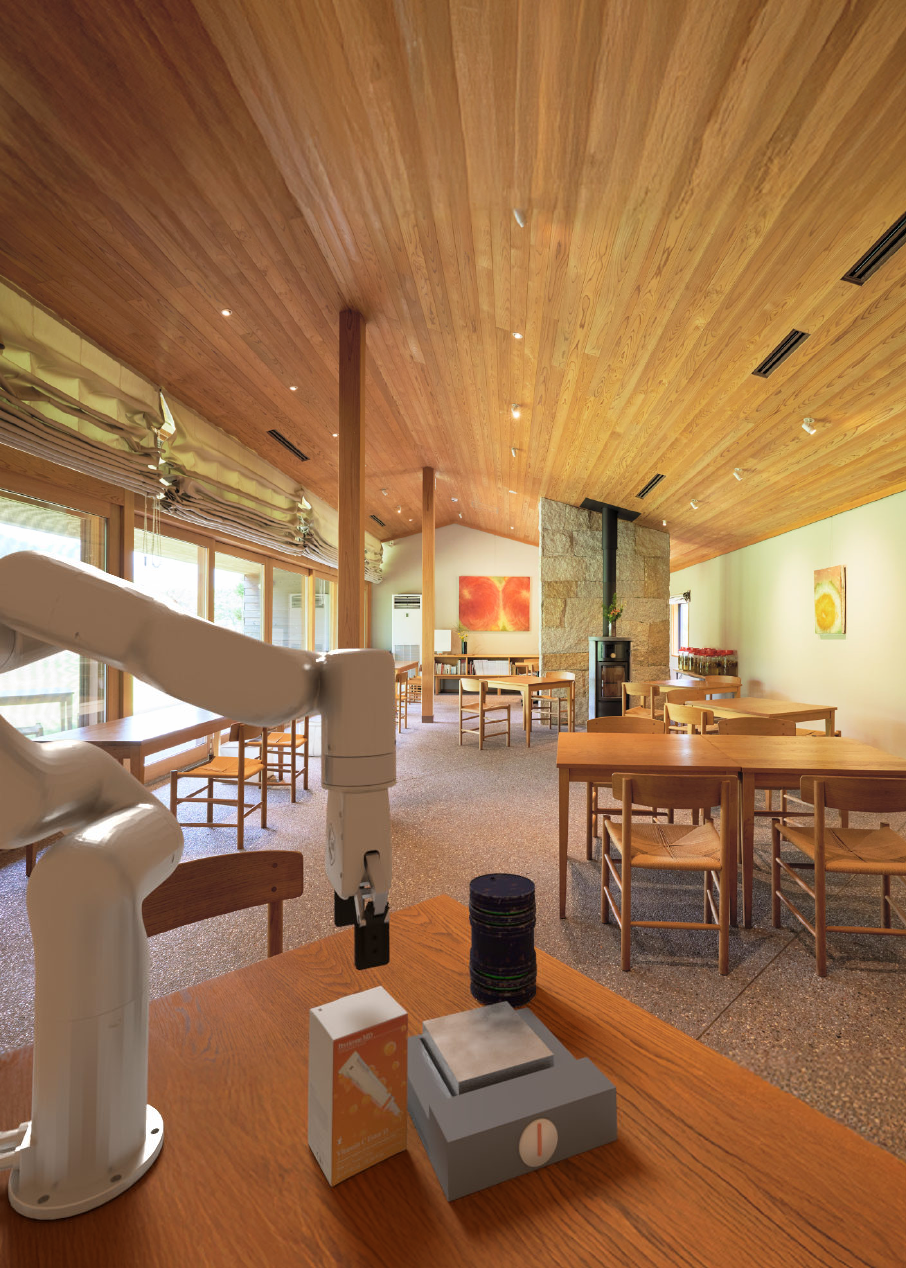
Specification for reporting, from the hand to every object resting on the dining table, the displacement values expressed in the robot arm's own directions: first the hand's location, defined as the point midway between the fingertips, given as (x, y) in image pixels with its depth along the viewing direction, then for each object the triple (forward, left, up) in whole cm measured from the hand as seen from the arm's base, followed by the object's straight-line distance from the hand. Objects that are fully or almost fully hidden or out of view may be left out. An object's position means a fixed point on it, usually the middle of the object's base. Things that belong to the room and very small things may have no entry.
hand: (360, 943), depth 59 cm
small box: (0, 0, -20) cm, 20 cm away
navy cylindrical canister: (+26, +20, -20) cm, 38 cm away
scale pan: (+15, +3, -17) cm, 23 cm away
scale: (+15, 0, -19) cm, 24 cm away
